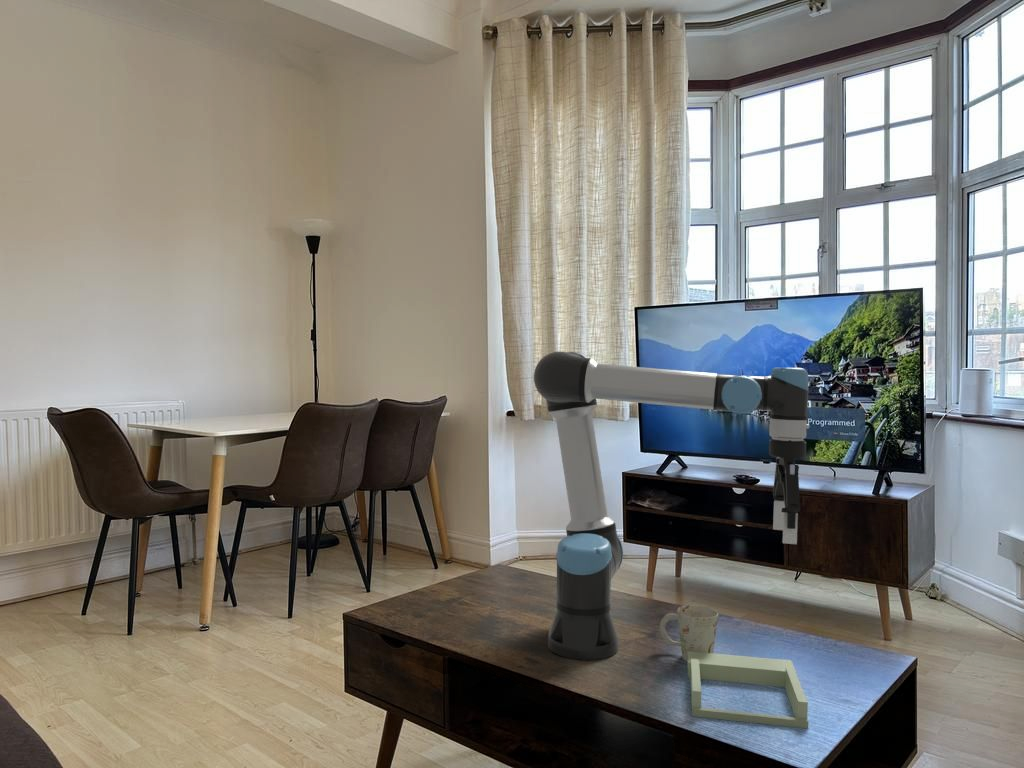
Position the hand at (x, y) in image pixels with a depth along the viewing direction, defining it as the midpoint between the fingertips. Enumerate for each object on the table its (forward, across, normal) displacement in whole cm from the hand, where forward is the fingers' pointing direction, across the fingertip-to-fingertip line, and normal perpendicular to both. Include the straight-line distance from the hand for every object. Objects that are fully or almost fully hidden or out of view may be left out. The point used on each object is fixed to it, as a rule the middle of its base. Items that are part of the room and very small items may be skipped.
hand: (784, 536), depth 161 cm
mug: (+25, -10, +20) cm, 33 cm away
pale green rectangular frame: (+25, -26, +10) cm, 37 cm away
